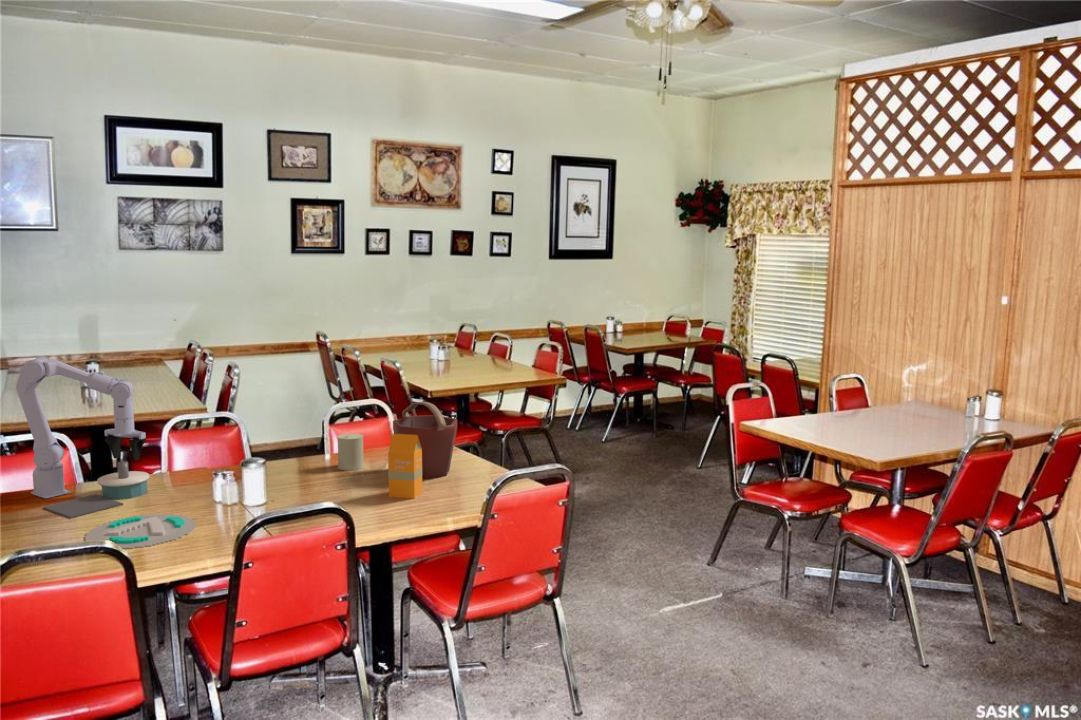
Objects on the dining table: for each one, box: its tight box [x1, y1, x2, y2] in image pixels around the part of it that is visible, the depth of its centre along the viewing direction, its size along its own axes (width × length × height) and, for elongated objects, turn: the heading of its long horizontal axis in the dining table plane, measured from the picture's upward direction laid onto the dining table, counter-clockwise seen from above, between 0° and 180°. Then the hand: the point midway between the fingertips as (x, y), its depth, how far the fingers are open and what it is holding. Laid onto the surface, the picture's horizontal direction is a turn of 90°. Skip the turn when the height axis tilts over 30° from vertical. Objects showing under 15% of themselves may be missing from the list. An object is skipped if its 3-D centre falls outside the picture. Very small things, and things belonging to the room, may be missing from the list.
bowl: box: [101, 480, 148, 500], centre depth 276 cm, size 13×13×4 cm
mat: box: [42, 493, 124, 519], centre depth 262 cm, size 16×16×1 cm
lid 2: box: [83, 513, 198, 550], centre depth 241 cm, size 28×28×2 cm
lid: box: [97, 460, 150, 487], centre depth 275 cm, size 15×15×6 cm
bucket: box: [392, 401, 458, 480], centre depth 302 cm, size 24×22×25 cm
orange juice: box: [387, 433, 423, 500], centre depth 276 cm, size 8×9×20 cm
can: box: [337, 432, 365, 471], centre depth 309 cm, size 9×9×12 cm
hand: (126, 458), depth 278 cm, fingers open, 7 cm apart
